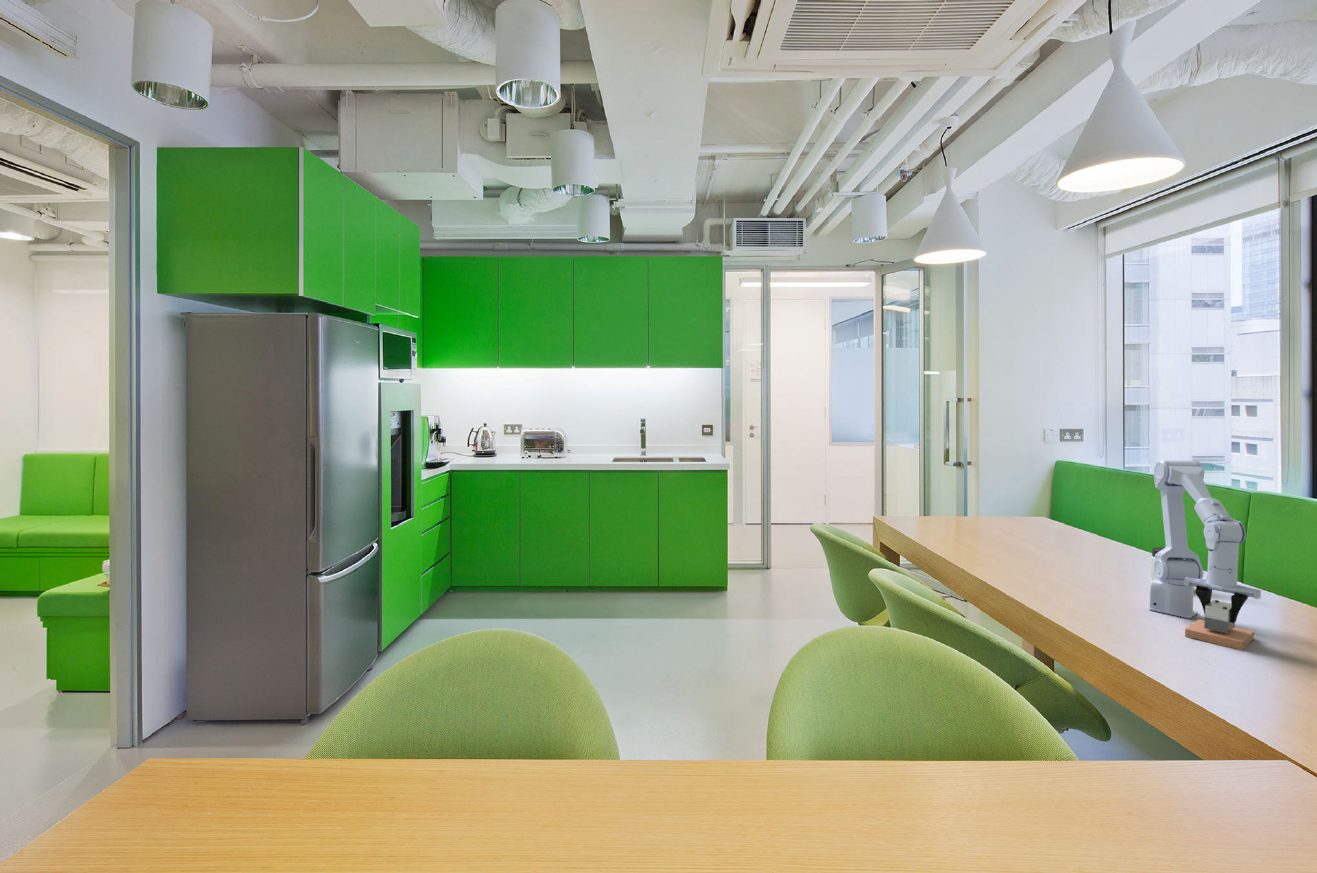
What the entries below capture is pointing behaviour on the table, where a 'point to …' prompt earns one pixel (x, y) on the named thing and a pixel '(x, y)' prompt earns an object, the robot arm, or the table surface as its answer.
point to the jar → (1154, 551)
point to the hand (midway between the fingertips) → (1220, 619)
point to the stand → (1220, 635)
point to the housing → (1218, 616)
